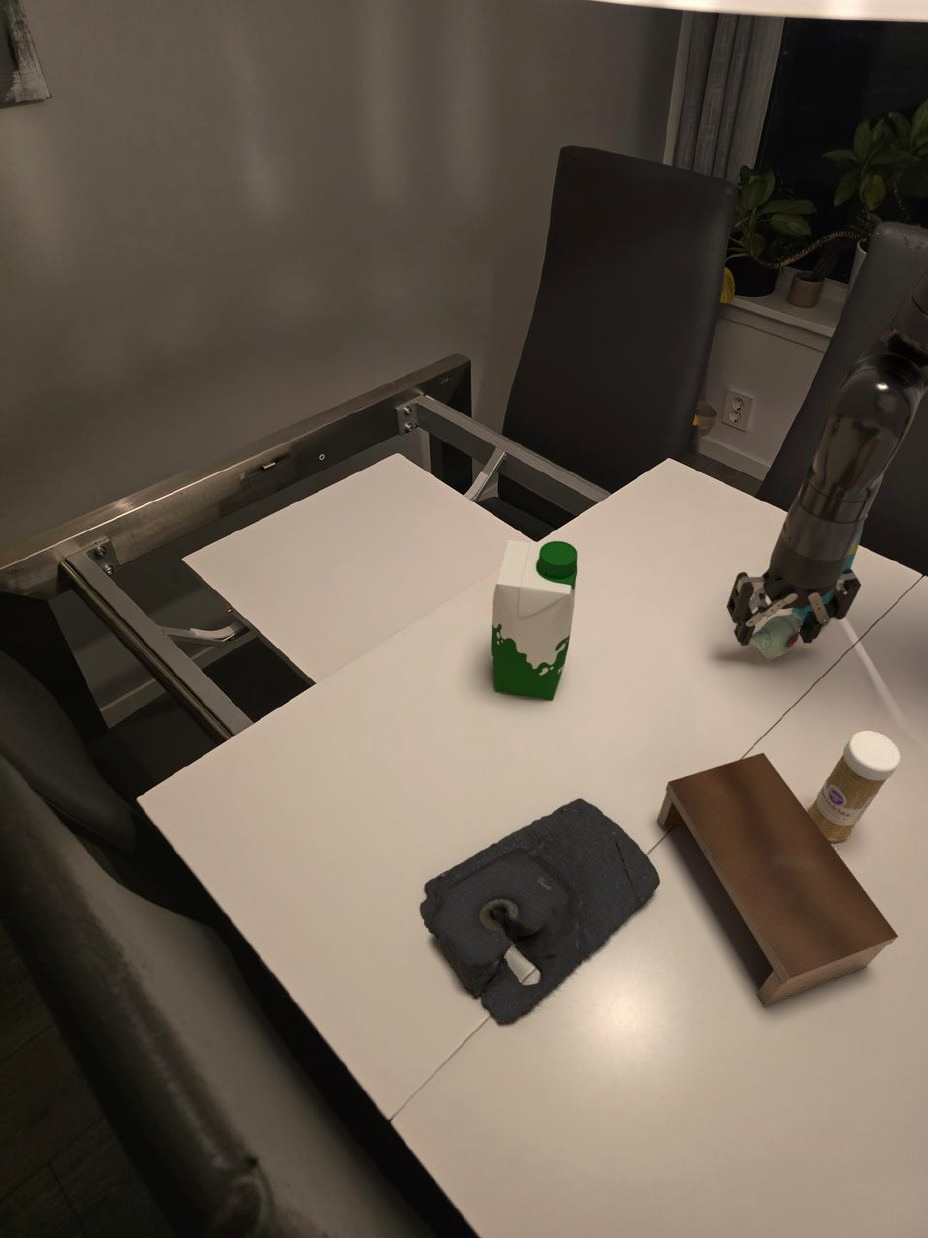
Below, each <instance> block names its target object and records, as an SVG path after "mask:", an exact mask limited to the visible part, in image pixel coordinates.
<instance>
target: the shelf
mask: <svg viewBox="0 0 928 1238" xmlns="http://www.w3.org/2000/svg"><path fill="white" fill-rule="evenodd" d="M662 801H663V802H662V805H661V808H660V810H659V813H658V816H657V818H656V822H657V823H658V824H659V827H660V828H661V830H666V829H668V828H671V827H675V826H678V825H681V824H684V823H685V825H686V826H687V828H688V829H689V831H690V833H691V834H692V836H693V838H694V839H695V841H696V843H697V844H698V846H699V848H700V850H701V851H702V853H703V855H704V856H705V858H706V859H707V861H708V863H709V864H710V866H711V868H712V869H713V871H714V872H715V875H716V877H717V878H718V880H719V881H720V883H721V885H722V886H723V888H724V889H725V892H727V894H728V896H729V898H730V899H731V900H732V903H733V905H734V906H735V907H736V910H738V913H739V914H740V916H741V917H742V919H743V921H744V922H745V924H746V926H747V928H748V929H749V931H750V932H751V933H752V935H753V937H754V939H755V941H756V943H757V945H758V946H759V947H760V949H761V950H762V952H763V954H764V956H765V957H766V959H767V960H768V962H769V964H770V965H771V967H772V969H773V970H772V972H771V973H770V975H769V976H768V977H767V979H766V980H765V981H764V983H763V984H762V985H761V987H760V988H759V990H758V991H757V993H756V995H757V996H758V999H759V1000H760V1002H761V1004H762V1005H763V1007H767V1006H769V1005H772V1004H775V1003H777V1002H780V1001H782V1000H785V999H787V998H790V997H791V996H795V995H797V994H800V993H802V992H806V991H808V990H810V989H813V988H816V987H818V986H821V985H823V984H825V983H828V982H831V981H833V980H835V979H838V978H841V977H843V976H845V975H848V974H851V973H854V972H856V971H858V970H861V969H863V968H866V967H868V966H869V965H870V964H871V962H872V961H874V959H875V958H876V957H877V956H878V955H879V954H880V953H881V952H882V951H883V949H885V948H886V946H889V945H892V944H893V943H894V942H895V941H896V940H897V939H898V938H899V935H898V934H897V932H896V931H895V930H894V928H893V927H892V926H891V924H890V923H889V921H888V920H887V919H886V917H885V916H884V915H883V913H882V912H881V910H880V909H879V908H878V906H877V905H876V904H875V902H874V901H873V900H872V898H871V897H870V896H869V894H868V893H867V892H866V890H865V889H864V887H863V885H861V884H860V882H859V881H858V879H857V878H856V877H855V875H854V873H852V871H851V870H850V868H849V867H848V865H847V864H846V863H845V862H844V860H843V859H842V857H841V856H840V854H839V853H838V852H837V851H836V849H835V847H834V846H833V845H832V844H831V842H830V841H828V840H827V838H826V837H825V836H824V834H823V833H822V832H821V830H820V829H819V828H818V826H817V825H816V824H815V822H814V821H813V819H812V818H811V817H810V815H809V814H808V813H807V811H808V810H806V808H805V807H804V806H803V804H802V803H801V802H800V800H799V799H798V797H797V796H796V795H795V793H794V792H793V790H792V789H791V788H790V787H789V785H788V784H787V783H786V781H785V779H783V777H782V776H781V774H780V773H779V772H778V770H777V769H776V768H775V766H774V765H773V764H772V762H771V761H770V759H769V758H768V757H767V755H766V754H765V753H764V752H760V753H757V754H755V755H750V756H748V757H744V758H742V759H738V760H734V761H731V762H728V763H725V764H721V765H718V766H715V767H712V768H709V769H706V770H703V771H699V772H696V773H692V774H689V775H686V776H683V777H680V778H676V779H673V780H670V781H667V784H666V788H665V794H664V798H663V800H662Z"/></svg>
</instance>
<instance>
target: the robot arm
mask: <svg viewBox="0 0 928 1238" xmlns="http://www.w3.org/2000/svg"><path fill="white" fill-rule="evenodd" d="M927 391H928V269H927V270H926V272H924V274H923V275H922V276H921V278H920V279H919V281H918V282H917V283H916V285H915V286H914V287H913V289H912V290H911V291H910V292H909V294H907V297H906V298H905V299H904V301H903V303H902V304H901V305H900V307H899V309H898V311H897V312H896V314H895V315H894V316H893V317H892V318H891V319H890V320H889V321H888V322H887V323H886V324H885V325H884V326H883V327H882V329H881V330H880V331H879V332H878V333H877V335H876V336H874V338H873V339H872V340H871V341H870V342H869V343H868V344H867V346H866V347H865V348H864V349H863V350H862V351H861V353H860V354H859V356H857V358H856V359H855V360H854V362H853V363H852V364H851V366H850V367H849V369H848V370H847V372H846V374H845V375H844V377H843V379H842V381H841V383H840V385H839V387H838V388H837V391H836V392H835V394H834V396H833V398H832V401H831V403H830V406H829V408H828V410H827V414H826V416H825V420H824V422H823V425H822V428H821V432H820V434H819V439H818V442H817V446H816V450H815V453H814V455H813V457H812V459H811V460H810V463H809V465H808V467H807V469H806V472H805V474H804V477H803V479H802V482H801V485H800V487H799V488H798V489H799V490H798V493H797V495H796V496H795V498H794V500H793V502H792V503H791V505H790V507H789V509H788V511H787V513H786V516H785V519H784V521H783V523H782V527H781V530H780V532H779V535H778V538H777V540H776V543H775V545H774V548H773V550H772V553H771V556H770V560H769V566H768V569H767V570H765V572H764V573H763V574H762V575H761V576H749V575H748V573H747V572H746V571H742V572H739V573H738V574H737V575H736V578H735V581H734V583H733V586H732V590H731V593H730V595H729V598H728V600H727V604H726V609H727V611H728V614H729V616H730V619H731V620H732V623H733V624H736V625H735V628H734V630H733V632H734V636H735V638H736V640H737V643H739V644H740V646H741V647H748V646H749V644H750V642H751V641H752V640H751V637H752V635H753V634H754V633H755V629H756V625H757V624H758V623H759V622H760V621H762V620H763V619H764V618H772V616H773V615H775V614H776V613H778V611H780V610H789V609H792V608H797V609H805V608H806V606H809V605H810V606H811V608H812V611H808V613H807V615H806V617H805V619H804V621H803V624H802V626H801V627H800V629H799V637H800V639H801V640H802V643H803V644H804V645H805V644H806V645H808V644H812V643H813V641H814V640H816V639H817V638H818V637H819V635H820V632H821V631H822V628H823V624H825V623H827V622H828V621H829V619H830V620H831V619H835V620H838V621H839V620H843V619H844V618H846V616H847V614H848V613H849V610H850V608H851V606H852V604H853V602H854V601H855V598H856V597H857V595H858V593H859V591H860V589H861V587H862V584H861V582H860V580H859V578H858V576H857V575H856V573H855V572H854V570H853V569H852V568H851V569H846V570H844V571H843V569H844V567H845V565H846V563H847V561H848V559H849V557H850V554H851V552H852V550H853V548H854V546H855V544H856V542H857V540H858V538H859V536H860V533H861V531H862V532H863V529H864V525H865V521H866V518H865V517H866V515H867V516H868V513H869V510H870V509H871V506H872V504H873V502H874V500H875V498H876V496H877V494H878V491H879V489H880V487H881V484H882V481H883V478H884V475H885V472H886V471H887V469H888V467H889V465H890V463H891V462H892V460H893V459H894V458H895V455H896V453H897V452H898V451H899V448H900V446H901V444H902V442H903V440H904V439H905V437H906V435H907V434H908V431H909V429H910V427H911V424H912V422H913V420H914V418H915V416H916V412H917V410H918V407H919V404H920V401H921V399H922V398H923V396H924V395H925V393H926V392H927ZM862 528H863V529H862ZM842 571H843V572H842ZM841 573H842V574H841ZM832 589H834V590H833V592H832V594H831V597H830V599H829V601H828V603H827V604H823V602H822V600H821V597H823V596H824V595H825V594H827V593H828V592H830V591H831V590H832ZM767 598H768V599H769V601H770V603H769V604H768V602H767V600H766V599H767ZM756 609H757V610H756ZM754 610H756V611H754ZM753 611H754V612H753ZM829 622H830V621H829Z"/></svg>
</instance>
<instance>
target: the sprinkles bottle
mask: <svg viewBox="0 0 928 1238" xmlns="http://www.w3.org/2000/svg"><path fill="white" fill-rule="evenodd" d="M900 763H901V753H900V750H899V748H898V747H897V745H896V744H895V743H894V742H893V741H892V740H891V739H890V738H888V737H887V736H885V735H883V734H882V733H879V732H876V731H872V730H861V731H858V732H855V733H854V734H853V735H852V736H850V738H849V739H848V741H847V742H846V744H845V746H844V748H843V752H842V755H841V757H840V758H839V760H838V761H837V762H836V764H835V766H834V768H833V769H832V771H831V773H830V774H829V776H827V778H826V780H825V781H824V783H823V785H822V786H821V788H820V789H819V792H818V793H817V795H816V798H815V800H814V802H813V803H812V805H811V806H810V807H809V808H808V809H807V810H806V811H807V813H808V814H809V815H810V817H811V818H812V819H813V821H814V822H815V824H816V825H817V826H818V828H819V829H820V830H821V832H822V833H823V834H824V836H825V837H826V838H827V840H828V841H829V842H834V843H838V842H843V841H845V840H847V839H848V838H849V837H850V835H851V833H852V831H853V829H854V827H855V826H856V824H857V823H858V822H859V821H860V820H861V818H862V817H863V815H864V814H865V812H866V811H867V810H868V808H869V806H870V805H871V804H872V802H873V800H874V799H875V798H876V796H877V795H878V793H879V792H880V790H881V788H882V786H883V785H884V783H885V782H886V781H887V780H888V779H890V778H891V777H892V776H893V774H894V773H895V771H896V770H897V769H898V767H899V766H900Z"/></svg>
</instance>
